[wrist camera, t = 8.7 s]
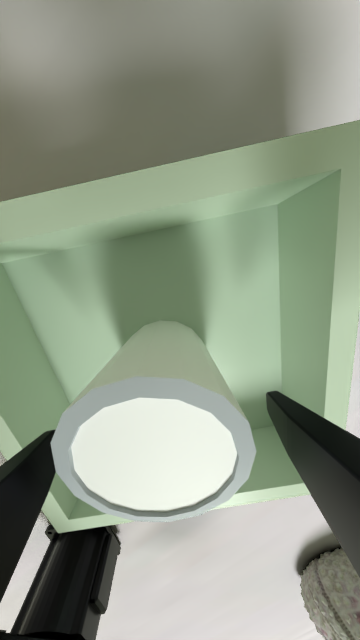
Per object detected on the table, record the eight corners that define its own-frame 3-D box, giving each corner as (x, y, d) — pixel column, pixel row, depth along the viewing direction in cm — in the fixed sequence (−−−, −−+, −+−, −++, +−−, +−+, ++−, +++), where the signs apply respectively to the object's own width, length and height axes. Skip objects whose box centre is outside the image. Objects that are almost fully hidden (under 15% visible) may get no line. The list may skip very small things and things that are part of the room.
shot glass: (197, 406, 14) (217, 537, 7) (109, 387, 13) (42, 513, 7) (229, 326, 12) (295, 407, 5) (126, 298, 11) (55, 352, 5)
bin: (91, 456, 17) (58, 533, 12) (-12, 246, 11) (-152, 236, 6) (290, 422, 16) (338, 490, 11) (288, 181, 10) (383, 114, 6)
